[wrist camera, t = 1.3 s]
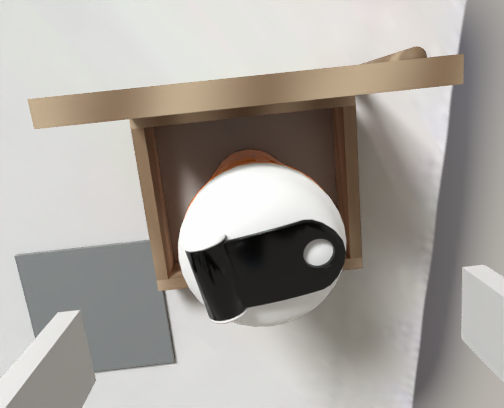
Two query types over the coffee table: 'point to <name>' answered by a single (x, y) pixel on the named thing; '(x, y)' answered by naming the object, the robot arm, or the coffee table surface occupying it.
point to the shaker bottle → (261, 242)
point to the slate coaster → (102, 300)
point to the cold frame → (246, 105)
